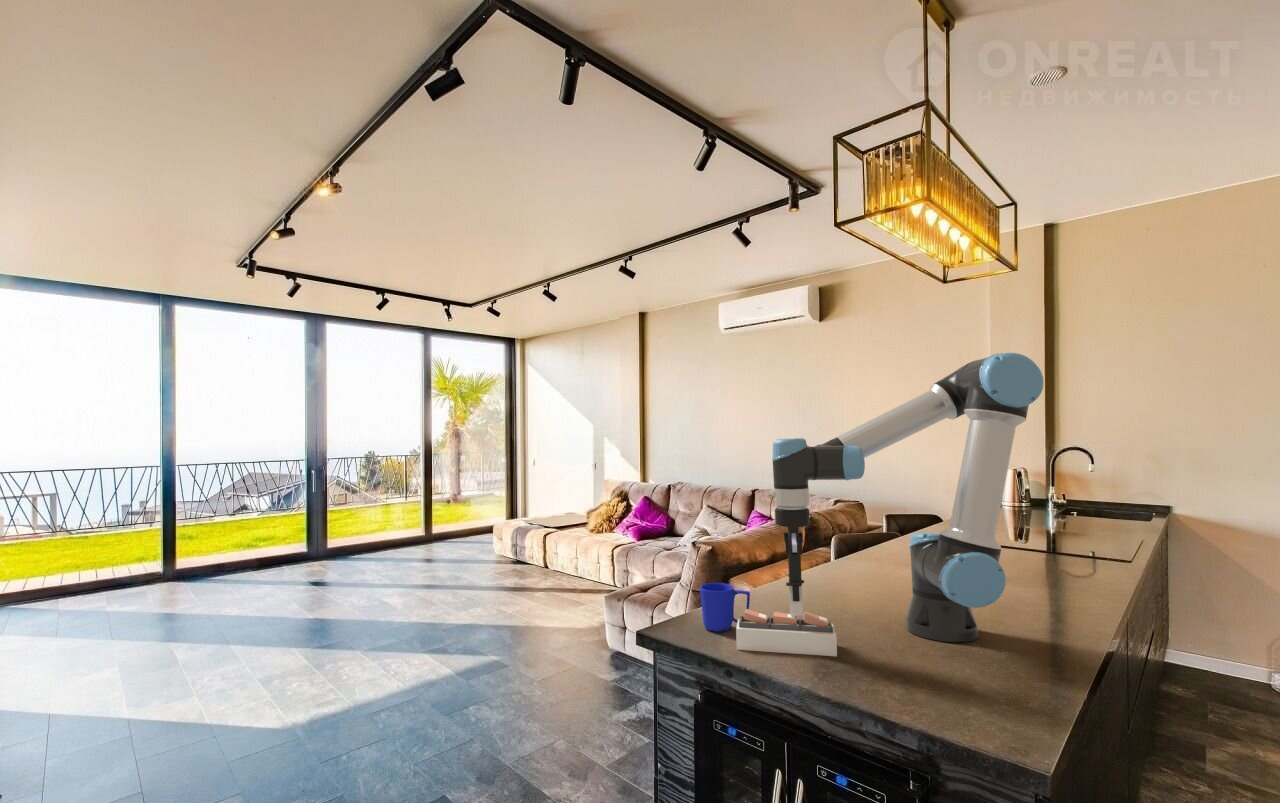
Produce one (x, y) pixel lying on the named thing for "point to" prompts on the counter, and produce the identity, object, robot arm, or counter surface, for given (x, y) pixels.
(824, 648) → the white rack
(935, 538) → the robot arm
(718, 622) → the mug
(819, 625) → the orange rectangular block
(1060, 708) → the counter surface
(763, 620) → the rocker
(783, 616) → the block
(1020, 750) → the counter surface
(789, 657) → the counter surface
